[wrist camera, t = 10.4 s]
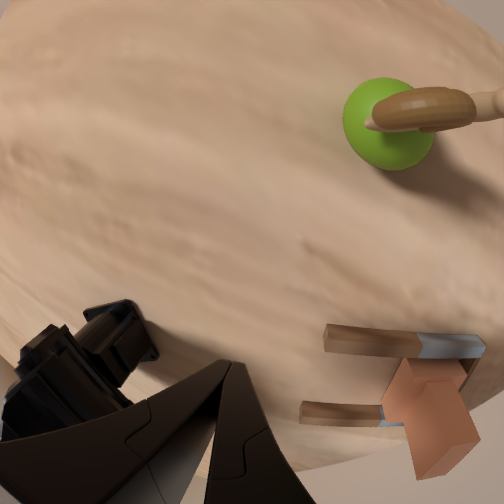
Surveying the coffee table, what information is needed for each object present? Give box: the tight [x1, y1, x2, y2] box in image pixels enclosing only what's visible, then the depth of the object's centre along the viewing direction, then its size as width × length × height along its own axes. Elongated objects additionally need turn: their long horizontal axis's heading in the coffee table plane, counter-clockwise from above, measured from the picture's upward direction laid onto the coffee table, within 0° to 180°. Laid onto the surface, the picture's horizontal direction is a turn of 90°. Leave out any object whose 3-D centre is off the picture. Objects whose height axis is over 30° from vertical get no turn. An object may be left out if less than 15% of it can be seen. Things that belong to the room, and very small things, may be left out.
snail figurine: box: [343, 78, 504, 170], centre depth 10 cm, size 5×6×12 cm
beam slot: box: [299, 324, 486, 427], centre depth 21 cm, size 16×10×2 cm
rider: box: [381, 358, 481, 480], centre depth 17 cm, size 6×6×10 cm
